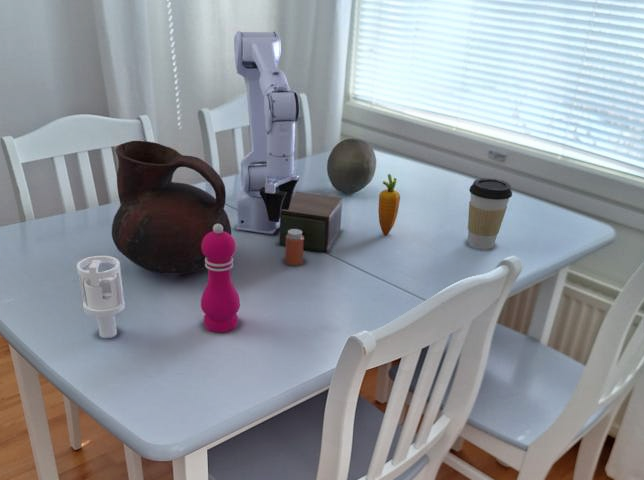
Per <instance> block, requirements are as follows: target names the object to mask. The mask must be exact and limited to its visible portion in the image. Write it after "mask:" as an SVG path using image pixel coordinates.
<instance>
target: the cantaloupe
mask: <svg viewBox="0 0 644 480" xmlns="http://www.w3.org/2000/svg"><path fill="white" fill-rule="evenodd" d="M376 169H377V156H376V153H375V152H374V149H373V147H372V146H371V144H369V142H367V141H365V140H363V139H359V138H347V139H346V138H345V139H343V140H341V141H339V142H338V143H337V144H336V145H334V147H333V148H332V150H331V152H330V153H329V156H328V157H327V163H326V171H327V176H328V177H327V178H328V179H329V182H330V184H331V186H332V187H333V188H334V189H335V190H336V191H338V192H340V193H342V194H348V195H349V194H350V195H351V194H355V193H358V192H360V191H362V190H363V189H364V188H366V187H367V186H368V185H369V184H370V183H371V182H372V180H373V178H374V177H375V173H376V171H377V170H376Z"/></svg>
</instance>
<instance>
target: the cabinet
mask: <svg viewBox="0 0 644 480" xmlns="http://www.w3.org/2000/svg"><path fill="white" fill-rule="evenodd" d="M342 210H343V197H339V196H332V195H325V194H317V193H309V192H302V191H295V193H293V195H292V199H291V204H290V207H289V209H288V210H285V209H281V215H280V219H279V221H280V227H279V246H283V247H285V245H286V244H281V216H282V215H287V214H288V215H295V216H302V217H309V218H316V219H323V220H326V234H325V248H324V250H319V249H313V248H306V247H303V250H304V249H305V250H311V251H316V252H324V253H327V252H328V251H329V250H330V248H331V246H332V245H333V243H334V242H335V240H336V239H337V237H338V235H339V234H340V232H341V224H342Z"/></svg>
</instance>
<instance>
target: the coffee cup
mask: <svg viewBox="0 0 644 480" xmlns="http://www.w3.org/2000/svg"><path fill="white" fill-rule="evenodd" d="M468 191H469V193H470V200H469V202H468V218H467V219H468V220H467V230H468V231H467V245H468V246H469V247H470V248H473V249H475V250H481V251H483V250H484V251H486V250H491V249H493V248H494V245H495V243H496V240H497V236H498V234H499V233H500V230H501V227H502V223H503V221H504V217H505V214H506V211H507V209H508V203H509V200H510V198H511V197H512V196H513V191H512V185H511V184H510V183H508V182H507V181H504V180H501V179H496V178H489V177H488V178H483V177H482V178H477V179H475V180H474V181H473V183H472V184H471V185H470V187H469V189H468Z"/></svg>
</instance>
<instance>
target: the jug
mask: <svg viewBox="0 0 644 480" xmlns="http://www.w3.org/2000/svg"><path fill="white" fill-rule="evenodd" d="M115 154H116V156H117V161H118V162H117V165H118V168H117V172H116V188H117V194H118V199H119V207H118V210H117V211H116V213H115V215H114V217H113V220H112V225H111V238H112V241H113V244H114V246H116V249H117V250H118V251H119V253H120V254H122V255H123V256H124V257H125V258H126V259H127V260H129V261H130V262H132V263H134V264H135V265H136V266H139V267H140V268H142V269H145V270H147V271H149V272H153V273H157V274H163V275H185V274H192V273H196V272H198V271H201V270H203V269H205V268H206V267H205V263H206V262H205V258H206V256H205V255H204V254H203V252H202V248H201V245H202V240H203V238H204V237H205V236H206V235H207V234H208V233H210V232H212V231H213V226H214V225H215V224H221V225H222V226H223V231H224V232H227V233H229V234H230V235H231V236H232V226H231V222H230V219H229V216H228V214H227V212H226V210H225V205H226V197H227V191H226V186H225V185H226V184H225V182H224V181H223V179H222V177H221V176H220V174H219V173H218V172H217V171H216V170H215V168H214V167H212V166H211V165H210V164H209V163H207V162H206V161H205V160H204V159H201V158H200V157H197V156H193V155H185V154H184V155H183V154H181V152H179V151H178V150H176V149H175V148H173V147H170V146H167V145H163V144H161V143H157V142H155V141H154V142H153V141H148V140H147V141H146V140H130V141H127V142H123V143H120V144H118V145H117V146H116V147H115ZM178 168H187V169H191V170H193V171H195V172H196V173H198V174H199V175H200V176H201V177H202V178H203V179H205V180H206V182H208V183H209V185H210V186H211V187H212V188H213V192H214V195H215V197H214V196H213V195H212V194H211V193H209V192H208V191H206V190H203V189H202V188H199V187H197V186H195V185H192V184H189V183H183V182H176V181H175V182H173V177H174V174H175V172H176V171H177V169H178Z"/></svg>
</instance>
